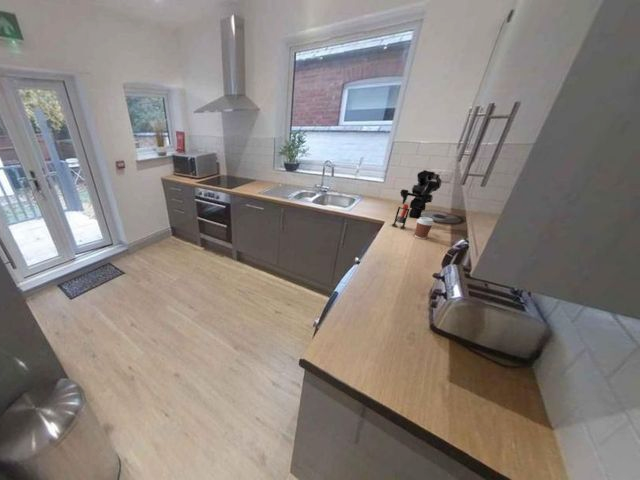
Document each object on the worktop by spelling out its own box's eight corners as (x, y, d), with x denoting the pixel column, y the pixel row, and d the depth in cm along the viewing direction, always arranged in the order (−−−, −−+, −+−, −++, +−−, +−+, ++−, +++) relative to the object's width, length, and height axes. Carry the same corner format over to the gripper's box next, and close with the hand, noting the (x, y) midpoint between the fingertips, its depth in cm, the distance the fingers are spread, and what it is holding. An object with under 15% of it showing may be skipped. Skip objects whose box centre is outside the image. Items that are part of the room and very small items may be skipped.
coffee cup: (419, 232, 165) (425, 215, 159) (432, 238, 157) (439, 220, 152) (408, 234, 162) (414, 217, 157) (421, 240, 155) (427, 222, 149)
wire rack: (393, 225, 176) (398, 206, 170) (404, 228, 171) (410, 209, 164) (391, 225, 175) (397, 206, 168) (403, 229, 170) (409, 209, 163)
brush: (397, 221, 175) (404, 203, 172) (405, 223, 172) (412, 205, 168) (394, 221, 171) (400, 203, 167) (402, 223, 168) (409, 205, 164)
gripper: (405, 177, 175) (394, 196, 174) (437, 182, 162) (425, 203, 161) (406, 186, 183) (396, 204, 182) (436, 192, 170) (425, 211, 169)
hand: (410, 205), depth 173 cm, fingers open, 9 cm apart
